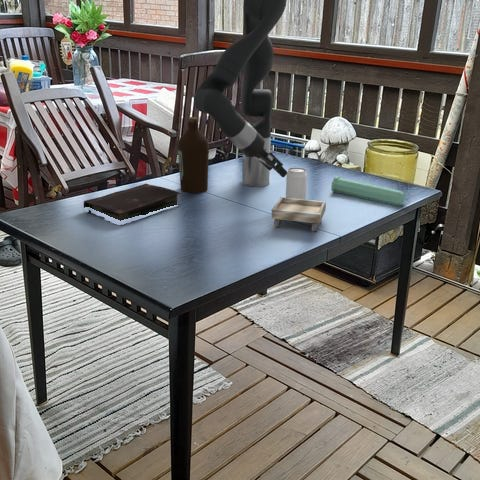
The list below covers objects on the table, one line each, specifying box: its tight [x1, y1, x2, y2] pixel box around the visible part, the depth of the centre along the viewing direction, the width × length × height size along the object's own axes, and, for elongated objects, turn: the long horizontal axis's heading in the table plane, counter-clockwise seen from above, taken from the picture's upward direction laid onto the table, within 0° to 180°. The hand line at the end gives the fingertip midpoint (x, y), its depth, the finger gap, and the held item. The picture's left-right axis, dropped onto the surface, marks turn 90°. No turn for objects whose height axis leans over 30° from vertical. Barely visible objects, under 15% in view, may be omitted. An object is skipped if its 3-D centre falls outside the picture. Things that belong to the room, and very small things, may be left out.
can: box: [285, 166, 308, 200], centre depth 190 cm, size 6×6×12 cm
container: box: [330, 175, 406, 206], centre depth 200 cm, size 6×6×25 cm
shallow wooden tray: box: [271, 196, 327, 232], centre depth 176 cm, size 14×12×6 cm
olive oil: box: [177, 116, 210, 194], centre depth 202 cm, size 11×11×25 cm
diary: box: [83, 183, 182, 221], centre depth 186 cm, size 19×25×5 cm
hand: (278, 171), depth 185 cm, fingers open, 8 cm apart
